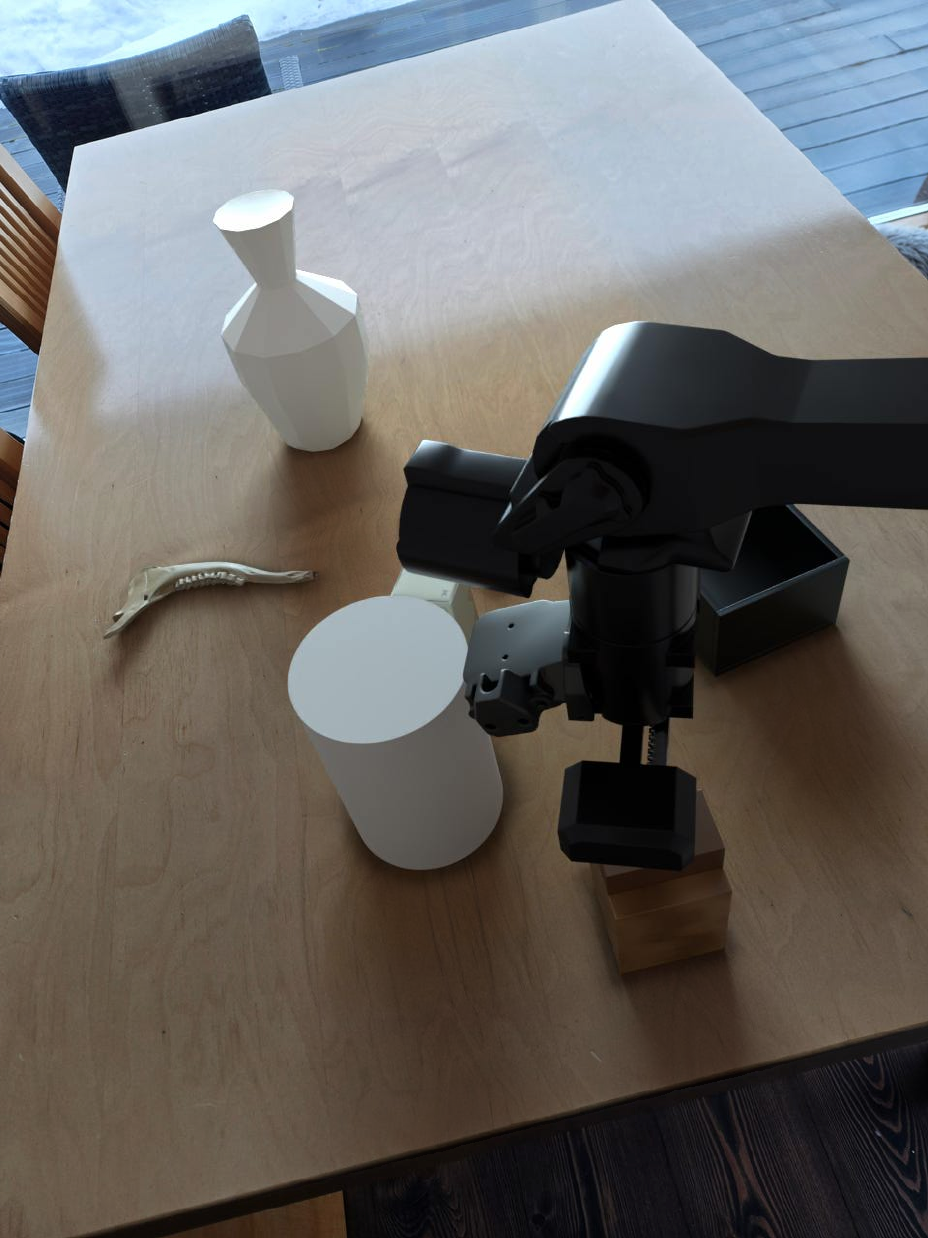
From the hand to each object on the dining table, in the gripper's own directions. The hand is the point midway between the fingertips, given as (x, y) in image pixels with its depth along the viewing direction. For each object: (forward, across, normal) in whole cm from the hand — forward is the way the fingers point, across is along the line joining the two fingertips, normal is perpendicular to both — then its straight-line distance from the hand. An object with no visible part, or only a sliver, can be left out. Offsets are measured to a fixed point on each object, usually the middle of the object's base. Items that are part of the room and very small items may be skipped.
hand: (640, 773), depth 54 cm
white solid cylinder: (+14, -4, -16) cm, 22 cm away
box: (+14, -17, -17) cm, 28 cm away
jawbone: (+14, -22, -41) cm, 49 cm away
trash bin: (+14, -29, +4) cm, 33 cm away
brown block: (+5, +2, +1) cm, 5 cm away
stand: (+14, +2, +1) cm, 14 cm away
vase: (+14, -50, -37) cm, 64 cm away
